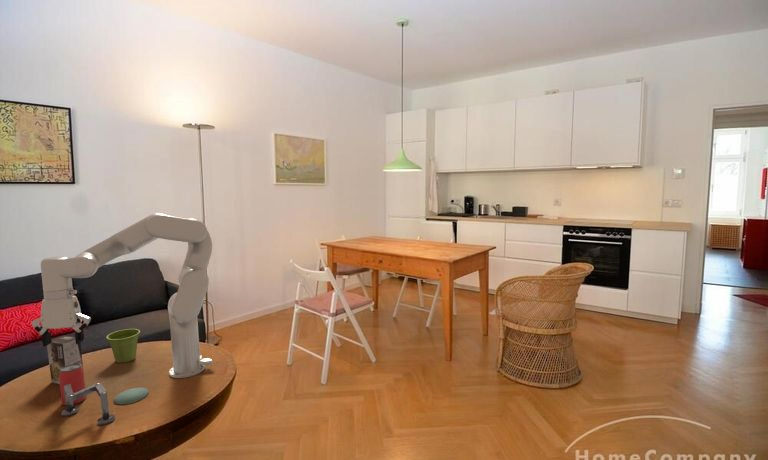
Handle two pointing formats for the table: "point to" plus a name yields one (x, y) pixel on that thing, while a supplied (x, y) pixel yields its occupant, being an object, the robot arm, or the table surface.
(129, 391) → the coaster
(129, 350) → the plant pot
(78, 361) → the coffee box
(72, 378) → the beer can
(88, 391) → the zigzag metal bar linkage
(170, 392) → the table surface
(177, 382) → the table surface
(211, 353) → the table surface
